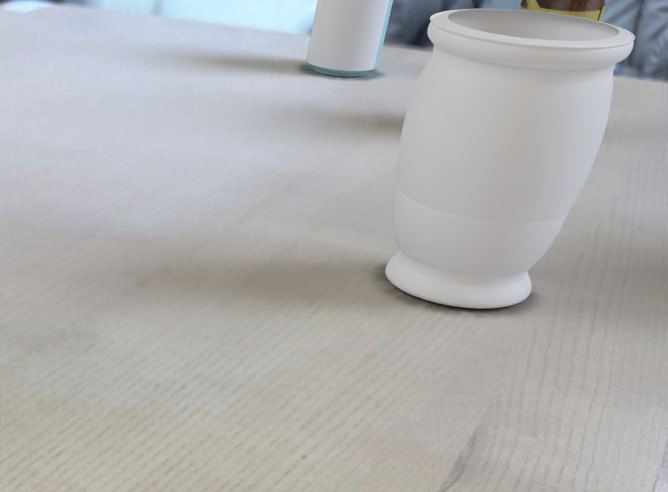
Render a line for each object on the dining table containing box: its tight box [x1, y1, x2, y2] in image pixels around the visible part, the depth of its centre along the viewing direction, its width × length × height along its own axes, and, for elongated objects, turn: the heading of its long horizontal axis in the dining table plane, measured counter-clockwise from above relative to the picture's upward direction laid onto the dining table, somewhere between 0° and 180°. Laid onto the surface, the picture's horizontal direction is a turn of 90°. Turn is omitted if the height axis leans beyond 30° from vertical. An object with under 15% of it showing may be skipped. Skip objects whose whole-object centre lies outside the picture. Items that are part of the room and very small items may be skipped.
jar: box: [384, 7, 636, 309], centre depth 70 cm, size 11×10×15 cm
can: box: [305, 0, 394, 78], centre depth 118 cm, size 7×7×12 cm
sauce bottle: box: [518, 0, 606, 22], centre depth 98 cm, size 7×6×20 cm
